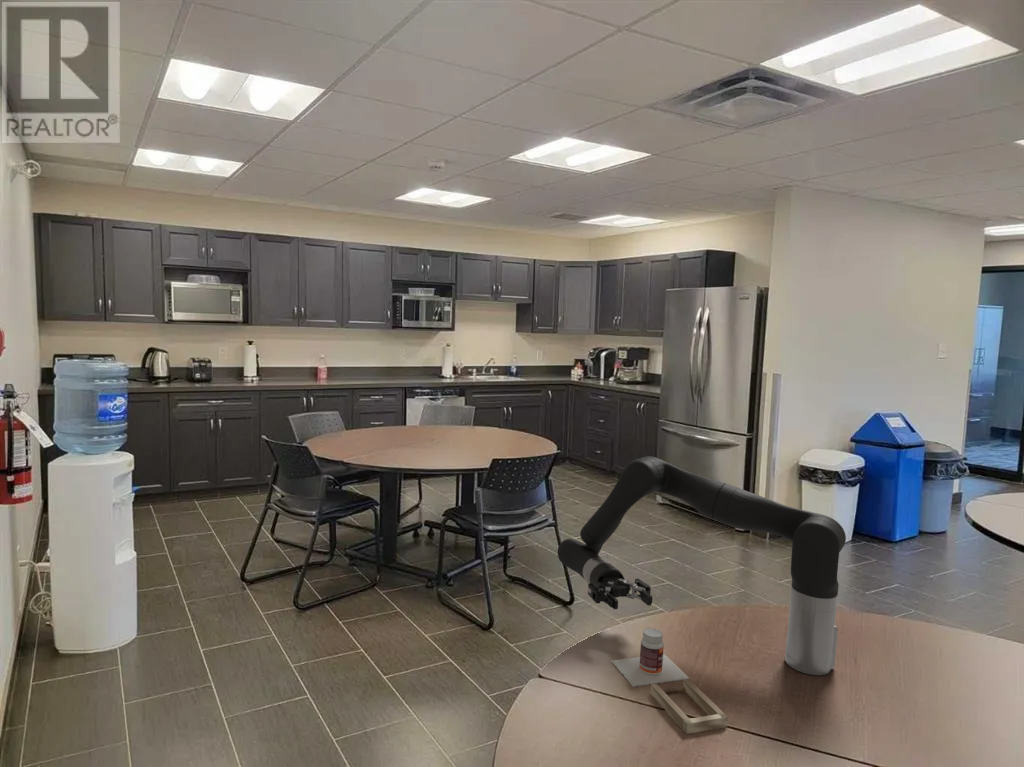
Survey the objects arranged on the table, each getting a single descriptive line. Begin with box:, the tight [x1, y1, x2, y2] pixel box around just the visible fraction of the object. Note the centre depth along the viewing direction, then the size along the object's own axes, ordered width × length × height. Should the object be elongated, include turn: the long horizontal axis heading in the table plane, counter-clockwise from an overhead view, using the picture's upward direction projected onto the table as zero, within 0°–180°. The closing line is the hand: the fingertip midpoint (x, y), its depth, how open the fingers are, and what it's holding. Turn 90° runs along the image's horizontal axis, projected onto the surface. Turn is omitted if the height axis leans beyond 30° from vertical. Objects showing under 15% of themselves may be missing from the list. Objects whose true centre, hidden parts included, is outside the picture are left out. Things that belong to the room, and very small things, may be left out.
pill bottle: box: [639, 627, 665, 675], centre depth 138 cm, size 5×5×8 cm
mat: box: [611, 653, 690, 688], centre depth 139 cm, size 13×10×1 cm
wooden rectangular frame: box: [649, 678, 729, 735], centre depth 125 cm, size 9×13×2 cm, turn 18°
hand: (633, 603), depth 148 cm, fingers open, 8 cm apart
